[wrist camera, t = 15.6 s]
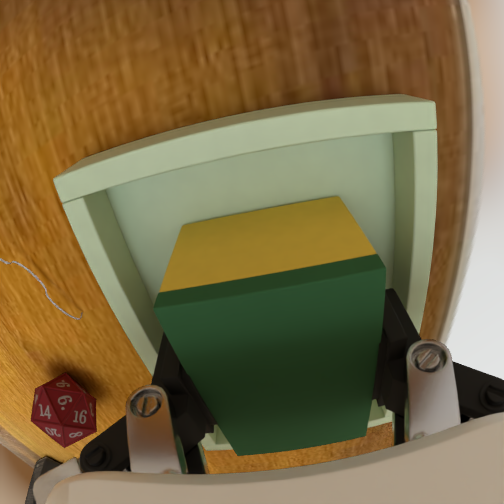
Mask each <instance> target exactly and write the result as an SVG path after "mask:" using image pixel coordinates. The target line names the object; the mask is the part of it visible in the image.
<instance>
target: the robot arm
mask: <svg viewBox="0 0 504 504" xmlns="http://www.w3.org/2000/svg"><path fill="white" fill-rule="evenodd" d="M374 399H376V401H377V404H378V407H380V406H384V405H385V408H386V409H387V410H389V411H392V444H391V447H389V448H386V449H382V450H378V451H375V452H371V453H367V454H362V455H358V456H354V457H349V458H345V459H340V460H335V461H330V462H324V463H319V464H313V465H307V466H300V467H293V468H285V469H277V470H268V471H257V472H244V473H227V474H210V473H209V469H208V466H207V462H206V459H205V455H204V451H203V448H202V444H201V440H202V439H204V438H205V433H214V425H218V423H217V421H216V420H215V418H214V417H213V415H212V413H211V412H210V410H209V408H208V407H207V405H206V403H205V402H204V400H203V398H202V397H201V395H200V393H199V392H198V390H197V388H196V386H195V385H194V383H193V381H192V380H191V378H190V376H189V375H188V374H187V373H186V371H185V369H184V368H183V366H182V364H181V362H180V360H179V359H178V357H177V355H176V353H175V351H174V349H173V348H172V346H171V344H170V342H169V340H168V338H167V336H166V334H165V332H163V336H162V340H161V344H160V348H159V352H158V357H157V361H156V365H155V369H154V374H153V378H152V383H151V385H145V386H142V387H140V388H138V389H136V390H135V391H134V392H132V394H131V395H130V396H129V397H128V400H127V402H126V415H125V416H124V417H123V418H121V419H120V420H119V421H117V422H116V423H115V424H113V425H112V426H111V427H109V428H108V429H107V430H105V431H104V432H103V433H101V434H100V435H99V436H97V437H96V438H94V439H93V440H92V441H90V442H89V443H88V444H87V445H86V446H85V447H84V448H83V450H82V451H81V454H80V458H78V459H77V458H76V457H73V458H72V459H70V460H68V461H66V462H64V463H63V464H61V465H59V466H57V467H56V468H54V469H52V470H50V471H48V472H46V473H45V474H43V475H41V476H39V477H38V478H37V479H36V481H35V482H34V485H33V495H34V498H35V501H36V504H504V380H502V379H500V378H498V377H495V376H492V375H489V374H486V373H483V372H481V371H478V370H475V369H472V368H470V367H467V366H464V365H461V364H459V363H456V362H453V361H452V357H451V354H450V351H449V349H448V348H447V347H446V346H445V345H444V344H442V343H441V342H439V341H436V340H433V339H424V340H422V339H421V338H420V336H419V334H418V332H417V330H416V328H415V326H414V324H413V322H412V320H411V318H410V317H409V315H408V313H407V311H406V309H405V307H404V306H403V304H402V302H401V300H400V298H399V297H398V295H397V293H396V291H395V290H394V289H393V288H389V289H385V302H384V314H383V325H382V335H381V342H380V343H379V349H378V357H377V365H376V373H375V380H374V387H373V393H372V400H374Z"/></svg>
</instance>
